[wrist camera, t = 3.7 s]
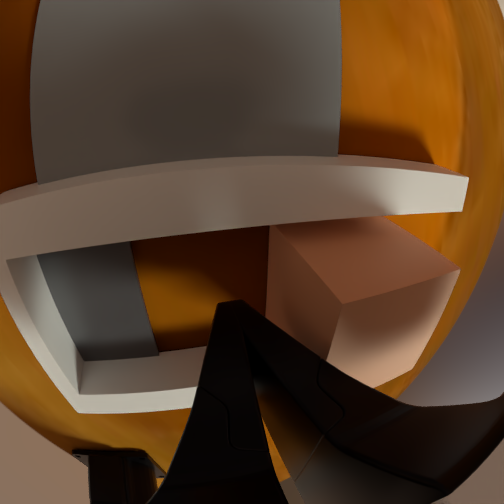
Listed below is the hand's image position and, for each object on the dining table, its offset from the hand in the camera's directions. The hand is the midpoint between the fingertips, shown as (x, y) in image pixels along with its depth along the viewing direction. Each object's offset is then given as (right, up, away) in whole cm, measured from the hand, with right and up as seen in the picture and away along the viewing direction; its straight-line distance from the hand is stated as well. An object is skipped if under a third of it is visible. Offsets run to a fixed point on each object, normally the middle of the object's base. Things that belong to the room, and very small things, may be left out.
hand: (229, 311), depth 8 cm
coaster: (-1, +8, -3) cm, 9 cm away
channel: (+1, +1, +2) cm, 2 cm away
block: (+3, +1, +2) cm, 4 cm away
